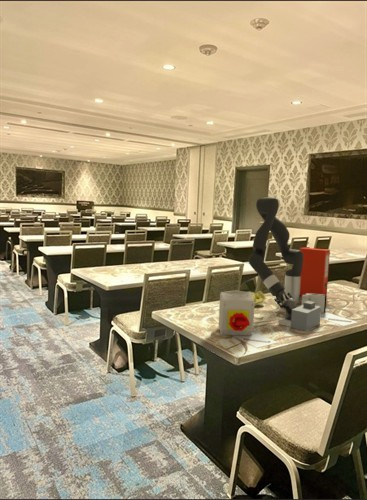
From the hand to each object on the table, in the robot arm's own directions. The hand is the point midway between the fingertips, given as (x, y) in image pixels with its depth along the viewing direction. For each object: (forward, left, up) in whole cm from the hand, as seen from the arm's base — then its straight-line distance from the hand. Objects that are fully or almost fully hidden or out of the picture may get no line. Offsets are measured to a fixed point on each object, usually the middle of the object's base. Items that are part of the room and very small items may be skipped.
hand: (293, 312), depth 186 cm
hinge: (-28, -2, -6) cm, 29 cm away
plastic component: (-14, -35, -7) cm, 38 cm away
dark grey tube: (0, -2, -4) cm, 5 cm away
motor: (-4, +2, -6) cm, 8 cm away
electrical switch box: (+34, -12, -6) cm, 36 cm away
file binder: (-63, -18, -6) cm, 66 cm away
